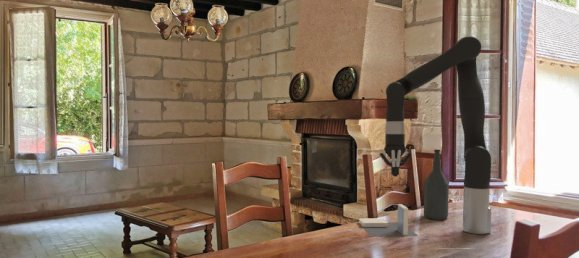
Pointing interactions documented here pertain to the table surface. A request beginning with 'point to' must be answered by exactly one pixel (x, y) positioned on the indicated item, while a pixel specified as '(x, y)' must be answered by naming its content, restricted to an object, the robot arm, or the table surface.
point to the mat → (387, 231)
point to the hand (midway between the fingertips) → (394, 176)
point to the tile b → (402, 219)
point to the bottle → (436, 192)
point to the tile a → (373, 222)
